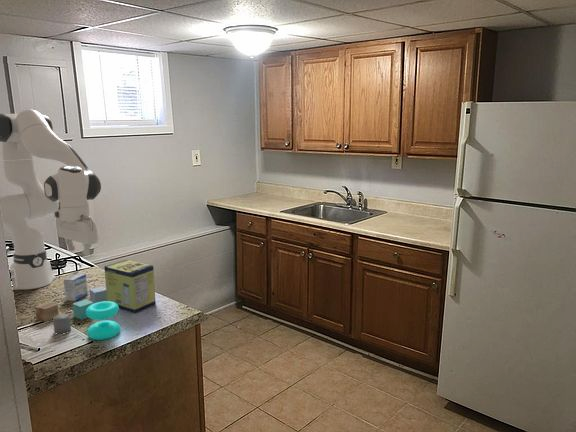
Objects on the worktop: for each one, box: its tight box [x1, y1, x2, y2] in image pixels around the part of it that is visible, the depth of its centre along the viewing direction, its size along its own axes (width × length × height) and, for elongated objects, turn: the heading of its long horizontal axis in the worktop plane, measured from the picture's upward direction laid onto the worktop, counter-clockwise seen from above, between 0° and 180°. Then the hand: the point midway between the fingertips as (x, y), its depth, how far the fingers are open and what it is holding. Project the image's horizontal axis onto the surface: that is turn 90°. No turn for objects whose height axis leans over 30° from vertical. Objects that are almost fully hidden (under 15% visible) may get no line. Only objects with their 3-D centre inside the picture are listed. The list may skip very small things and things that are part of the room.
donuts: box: [86, 301, 121, 341], centre depth 149 cm, size 10×10×10 cm
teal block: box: [72, 299, 93, 321], centre depth 164 cm, size 5×5×5 cm
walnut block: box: [34, 301, 59, 323], centre depth 162 cm, size 5×5×5 cm
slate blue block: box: [89, 286, 107, 304], centre depth 177 cm, size 5×5×5 cm
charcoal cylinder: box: [52, 313, 72, 335], centre depth 152 cm, size 5×5×5 cm
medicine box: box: [63, 273, 89, 302], centre depth 181 cm, size 8×4×9 cm, turn 168°
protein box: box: [104, 259, 157, 314], centre depth 173 cm, size 10×16×16 cm
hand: (78, 252), depth 160 cm, fingers open, 8 cm apart
